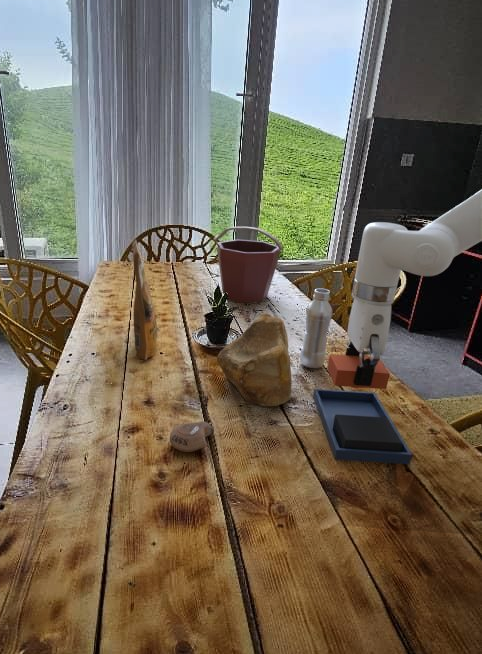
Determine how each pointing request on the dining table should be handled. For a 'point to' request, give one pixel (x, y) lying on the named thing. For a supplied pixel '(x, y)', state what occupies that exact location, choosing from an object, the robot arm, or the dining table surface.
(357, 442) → the pad
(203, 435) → the oil lamp
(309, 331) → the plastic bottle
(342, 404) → the pad frame
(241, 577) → the dining table surface
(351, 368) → the orange red rectangular block
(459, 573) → the dining table surface
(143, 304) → the pancake mix bag
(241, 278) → the bucket
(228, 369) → the rough brown rock
